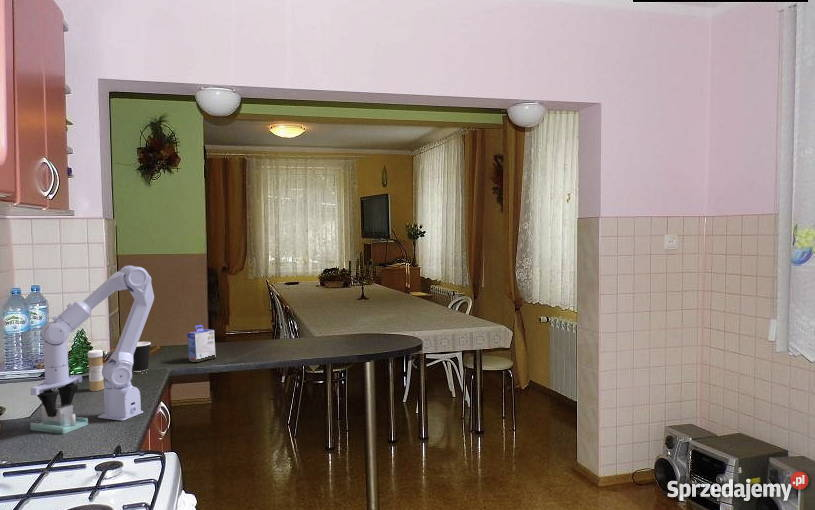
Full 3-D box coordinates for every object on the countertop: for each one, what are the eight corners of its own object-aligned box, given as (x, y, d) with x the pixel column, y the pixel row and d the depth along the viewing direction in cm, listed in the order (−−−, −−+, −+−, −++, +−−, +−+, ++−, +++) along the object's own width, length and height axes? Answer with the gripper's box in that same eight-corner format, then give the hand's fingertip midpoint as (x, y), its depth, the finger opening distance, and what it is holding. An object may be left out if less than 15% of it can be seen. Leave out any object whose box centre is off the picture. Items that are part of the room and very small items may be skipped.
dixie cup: (125, 374, 227) (123, 345, 226) (136, 369, 235) (134, 341, 234) (145, 374, 226) (144, 345, 225) (155, 369, 234) (154, 341, 233)
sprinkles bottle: (92, 388, 208) (90, 349, 208) (106, 387, 209) (104, 349, 208) (87, 391, 204) (85, 352, 203) (101, 391, 204) (99, 351, 204)
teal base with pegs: (88, 424, 170) (87, 410, 169) (63, 434, 162) (62, 419, 162) (56, 420, 174) (55, 406, 173) (30, 429, 166) (29, 415, 166)
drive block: (73, 422, 169) (72, 404, 168) (61, 427, 165) (60, 408, 165) (55, 420, 171) (54, 402, 171) (42, 424, 167) (41, 406, 167)
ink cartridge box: (207, 357, 254) (206, 323, 253) (216, 358, 251) (215, 324, 250) (187, 362, 246) (186, 326, 245) (196, 363, 243) (195, 327, 242)
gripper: (68, 358, 175) (70, 405, 176) (21, 370, 162) (23, 420, 162) (86, 360, 173) (89, 407, 173) (40, 372, 159) (43, 423, 160)
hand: (58, 413), depth 168 cm, fingers closed on drive block, 4 cm apart
